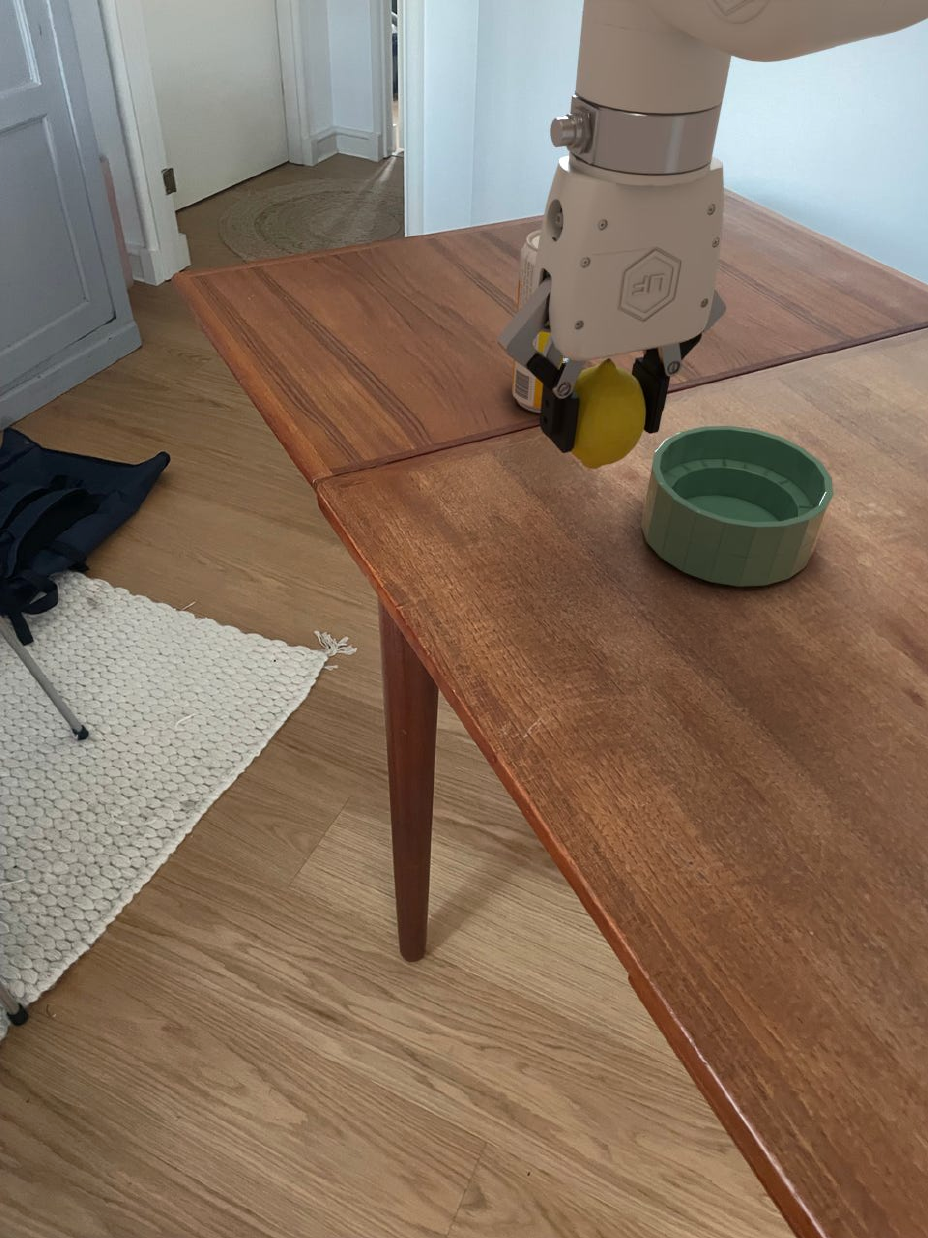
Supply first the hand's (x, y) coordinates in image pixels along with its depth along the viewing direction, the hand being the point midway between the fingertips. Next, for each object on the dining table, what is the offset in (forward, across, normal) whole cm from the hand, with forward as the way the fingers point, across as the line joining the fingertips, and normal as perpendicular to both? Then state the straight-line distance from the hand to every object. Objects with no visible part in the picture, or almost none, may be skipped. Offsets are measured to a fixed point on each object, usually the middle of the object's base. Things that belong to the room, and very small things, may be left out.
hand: (600, 429), depth 61 cm
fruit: (+3, 0, 0) cm, 3 cm away
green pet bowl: (+13, +13, 0) cm, 18 cm away
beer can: (+13, +9, +24) cm, 29 cm away
